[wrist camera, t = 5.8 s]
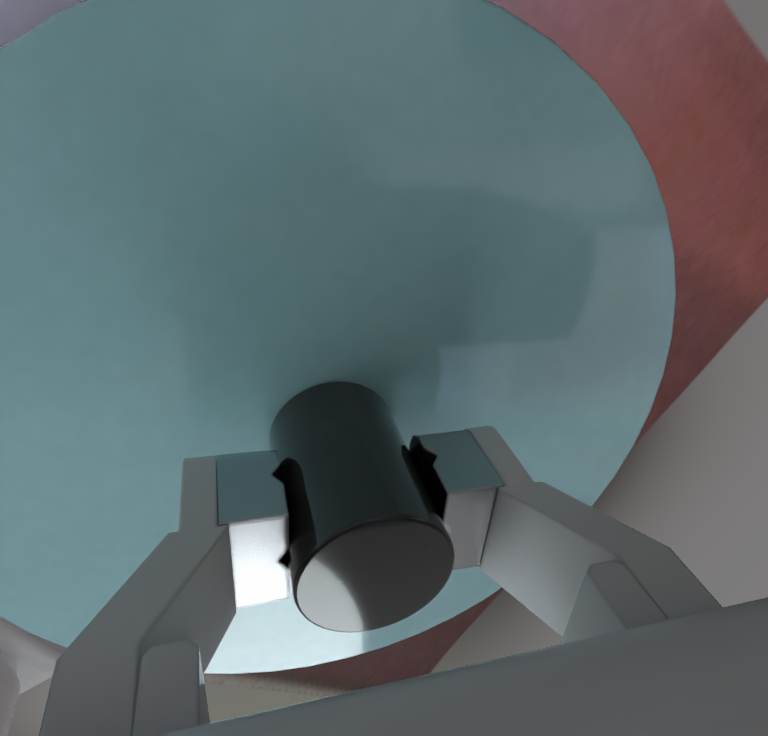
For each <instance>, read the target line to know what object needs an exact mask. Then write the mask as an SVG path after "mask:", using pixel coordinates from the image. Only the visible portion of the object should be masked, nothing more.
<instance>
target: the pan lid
mask: <svg viewBox="0 0 768 736" xmlns="http://www.w3.org/2000/svg"><path fill="white" fill-rule="evenodd" d="M675 300H676V287H675V257H674V250H673V244H672V238H671V233H670V227H669V222H668V216H667V211H666V208H665V205H664V202H663V199H662V196H661V193H660V190H659V187H658V184H657V182H656V179H655V176H654V173H653V170H652V167H651V165H650V163H649V162H648V160H647V158H646V156H645V154H644V152H643V150H642V148H641V146H640V145H639V143H638V141H637V139H636V137H635V135H634V133H633V131H632V129H631V128H630V126H629V124H628V122H627V121H626V120H625V118H624V117H623V116H622V114H621V113H620V112H619V111H618V109H617V108H616V107H615V105H614V104H613V103H612V101H611V100H610V99H609V97H608V96H607V95H606V93H605V92H604V91H603V90H602V88H601V87H600V86H599V84H598V83H597V82H596V80H594V79H593V78H592V77H591V76H590V75H589V74H588V73H587V72H586V71H585V70H584V69H583V68H582V67H581V66H580V65H578V64H577V63H576V62H575V61H574V60H573V59H572V58H571V57H570V56H569V55H568V54H567V53H566V52H565V51H564V50H562V49H561V48H560V47H559V46H558V45H557V44H556V43H555V42H554V41H552V40H551V39H549V38H548V37H546V36H545V35H543V34H542V33H540V32H539V31H537V30H536V29H534V28H533V27H531V26H530V25H528V24H527V23H525V22H524V21H522V20H521V19H519V18H518V17H516V16H515V15H513V14H512V13H510V12H509V11H507V10H506V9H504V8H503V7H500V6H498V5H496V4H494V3H491V2H489V1H487V0H85V1H82V2H80V3H77V4H75V5H73V6H70V7H68V8H65V9H63V10H60V11H59V12H57V13H56V14H54V15H52V16H51V17H49V18H48V19H46V20H45V21H43V22H41V23H40V24H38V25H37V26H35V27H33V28H32V29H30V30H29V31H27V32H25V33H24V34H22V35H21V36H19V37H18V38H16V39H14V40H13V41H11V42H10V43H8V44H6V45H5V46H3V47H2V48H0V617H2V618H4V619H6V620H7V621H9V622H11V623H13V624H15V625H16V626H18V627H20V628H22V629H24V630H25V631H27V632H29V633H32V634H34V635H37V636H39V637H41V638H44V639H46V640H49V641H51V642H54V643H56V644H58V645H61V646H63V647H66V648H68V647H69V646H70V644H71V643H72V642H73V641H74V640H75V639H76V638H77V636H78V635H79V634H80V633H81V632H82V631H83V630H84V628H85V627H86V626H87V625H88V624H89V623H90V622H91V621H92V619H93V618H94V617H95V616H96V615H97V614H98V613H99V611H100V610H101V609H102V608H103V607H104V606H105V605H106V603H107V602H108V601H109V600H110V599H111V598H112V597H113V596H114V594H115V593H116V592H117V591H118V590H119V589H120V588H121V586H122V585H123V584H124V583H125V582H126V581H127V580H128V578H129V577H130V576H131V575H132V574H133V573H134V572H135V571H136V569H137V568H138V567H139V566H140V565H141V564H142V563H143V561H144V560H145V559H146V558H147V557H148V556H149V555H150V553H151V552H152V551H153V550H154V549H155V548H156V547H157V546H158V544H159V543H160V542H161V541H162V540H163V539H164V538H165V536H166V535H167V534H168V533H172V532H178V530H179V510H180V490H181V471H182V462H183V460H184V458H192V457H202V456H213V455H214V456H216V459H217V455H221V454H233V453H245V452H256V451H268V450H277V451H278V455H279V460H280V473H281V482H282V483H284V489H285V495H286V502H287V508H288V514H289V546H290V547H289V549H288V550H287V552H286V555H287V562H288V568H289V575H290V598H289V599H284V600H279V601H274V602H269V603H264V604H259V605H254V606H249V607H244V608H240V609H236V614H235V616H234V618H233V620H232V622H231V624H230V626H229V627H228V629H227V631H226V633H225V635H224V637H223V639H222V641H221V642H220V644H219V646H218V648H217V650H216V652H215V654H214V656H213V657H212V659H211V661H210V663H209V665H208V667H207V669H206V671H205V672H204V674H242V673H257V672H273V671H280V670H287V669H294V668H301V667H308V666H313V665H318V664H322V663H327V662H331V661H336V660H340V659H345V658H349V657H352V656H356V655H359V654H362V653H365V652H369V651H372V650H375V649H379V648H382V647H385V646H388V645H390V644H393V643H395V642H398V641H401V640H403V639H406V638H408V637H411V636H414V635H416V634H419V633H421V632H423V631H425V630H427V629H429V628H431V627H434V626H436V625H438V624H440V623H442V622H444V621H446V620H448V619H451V618H452V617H454V616H456V615H458V614H460V613H461V612H463V611H465V610H467V609H468V608H470V607H472V606H474V605H475V604H477V603H479V602H481V601H482V600H484V599H486V598H487V597H489V596H490V595H492V594H493V593H494V592H496V591H497V590H499V589H500V588H502V587H501V586H500V585H499V584H498V583H496V582H495V581H494V580H493V579H492V578H490V577H489V576H488V575H487V574H486V573H484V572H483V571H482V570H481V569H480V566H478V567H471V568H464V569H457V570H453V567H454V561H455V550H454V545H453V542H452V540H451V537H450V535H449V533H448V531H447V529H446V527H445V525H444V523H443V521H442V519H441V516H440V514H439V512H438V510H437V508H436V506H435V504H434V502H433V500H432V498H431V496H430V493H429V491H428V489H427V487H426V485H425V483H424V481H423V479H422V477H421V475H420V473H419V470H418V468H417V466H416V464H415V462H414V460H413V458H412V456H411V454H410V452H409V445H410V441H411V439H412V436H413V435H422V434H430V433H439V432H448V431H457V430H464V429H468V428H475V427H483V426H492V427H494V428H495V429H496V430H497V431H498V433H499V434H500V435H501V437H502V438H503V440H504V441H505V442H506V444H507V445H508V446H509V448H510V449H511V451H512V452H513V453H514V455H515V456H516V457H517V459H518V460H519V461H520V463H521V464H522V466H523V467H524V468H525V470H526V471H527V472H528V474H529V475H530V477H531V478H532V479H533V481H534V482H541V481H542V482H544V483H546V484H548V485H550V486H552V487H554V488H556V489H558V490H560V491H562V492H564V493H565V494H567V495H569V496H571V497H573V498H575V499H577V500H579V501H581V502H583V503H585V504H587V505H589V506H590V507H592V506H593V504H594V503H595V502H596V500H597V499H598V498H599V496H600V495H601V493H602V492H603V491H604V490H605V488H606V487H607V486H608V484H609V483H610V482H611V480H612V479H613V478H614V476H615V475H616V473H617V471H618V470H619V468H620V467H621V465H622V463H623V462H624V460H625V458H626V457H627V455H628V454H629V452H630V450H631V449H632V447H633V445H634V443H635V441H636V439H637V437H638V435H639V433H640V431H641V429H642V427H643V425H644V423H645V421H646V419H647V417H648V415H649V412H650V410H651V407H652V404H653V402H654V399H655V396H656V393H657V390H658V388H659V385H660V382H661V379H662V376H663V373H664V368H665V364H666V360H667V355H668V351H669V347H670V342H671V338H672V329H673V320H674V310H675Z"/></svg>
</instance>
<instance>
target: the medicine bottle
mask: <svg viewBox="0 0 768 736" xmlns="http://www.w3.org/2000/svg"><path fill="white" fill-rule="evenodd" d="M66 649H67V648H66V647H63V646H61V645H58V644H56V643H54V642H51V641H49V640H46V639H44V638H41V637H39V636H37V635H34V634H32V633H29V632H27V631H25V630H24V629H22V628H20V627H18V626H16V625H15V624H13V623H11V622H9V621H7V620H6V619H4V618H2V617H0V736H7V734H8V730H9V727H10V723H11V720H12V716H13V713H14V709H15V706H16V702H17V699H18V695H19V694H21V693H23V692H24V691H26V690H28V689H30V688H32V687H33V686H35V685H37V684H39V683H41V682H42V681H44V680H46V679H48V678H50V677H51V676H53V673H54V669H55V664H56V660H57V659H58V658H59V657H60V656H61V655H62V653H63V652H64V651H65V650H66Z"/></svg>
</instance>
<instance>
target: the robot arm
mask: <svg viewBox="0 0 768 736" xmlns="http://www.w3.org/2000/svg"><path fill="white" fill-rule="evenodd" d="M409 452H410V454H411V456H412V458H413V460H414V462H415V464H416V466H417V468H418V470H419V473H420V475H421V477H422V479H423V481H424V483H425V485H426V487H427V489H428V491H429V493H430V496H431V498H432V500H433V502H434V504H435V506H436V508H437V510H438V512H439V514H440V516H441V519H442V521H443V523H444V525H445V527H446V529H447V531H448V533H449V535H450V537H451V540H452V542H453V545H454V550H455V561H454V567H453V570H457V569H464V568H471V567H478V566H480V569H481V570H482V571H483V572H484V573H486V574H487V575H488V576H489V577H490V578H492V579H493V580H494V581H495V582H496V583H498V584H499V585H500V586H501V587H503V588H504V589H505V590H506V591H507V592H509V593H510V594H511V595H512V596H513V597H515V598H516V599H517V600H518V601H519V602H521V603H522V604H523V605H524V606H526V607H527V608H528V609H529V610H530V611H532V612H533V613H534V614H535V615H536V616H538V617H539V618H540V619H541V620H542V621H544V622H545V623H546V624H547V625H549V626H550V627H551V628H552V629H553V630H555V631H556V632H557V633H558V634H560V635H561V636H562V640H561V642H560V645H555V646H551V647H546V648H542V649H538V650H534V651H529V652H525V653H520V654H516V655H511V656H507V657H502V658H498V659H493V660H489V661H484V662H480V663H476V664H471V665H466V666H462V667H457V668H453V669H449V670H444V671H440V672H435V673H431V674H426V675H422V676H417V677H413V678H408V679H404V680H399V681H395V682H391V683H386V684H382V685H377V686H373V687H368V688H364V689H359V690H355V691H350V692H346V693H342V694H337V695H333V696H328V697H324V698H319V699H315V700H310V701H306V702H302V703H297V704H293V705H288V706H284V707H280V708H275V709H271V710H266V711H261V712H258V713H253V714H248V715H244V716H239V717H235V718H230V719H226V720H221V721H217V722H213V723H210V720H209V713H208V706H207V698H206V692H205V685H204V677H203V674H204V672H205V671H206V669H207V667H208V665H209V663H210V661H211V659H212V657H213V656H214V654H215V652H216V650H217V648H218V646H219V644H220V642H221V641H222V639H223V637H224V635H225V633H226V631H227V629H228V627H229V626H230V624H231V622H232V620H233V618H234V616H235V614H236V609H240V608H244V607H249V606H254V605H259V604H264V603H269V602H274V601H279V600H284V599H289V598H290V575H289V568H288V562H287V555H286V552H287V550H288V549H289V547H290V546H289V514H288V508H287V502H286V495H285V489H284V483H282V482H281V473H280V460H279V455H278V451H277V450H268V451H256V452H245V453H233V454H221V455H217V459H216V456H214V455H213V456H202V457H192V458H184V460H183V462H182V471H181V490H180V510H179V530H178V532H172V533H168V534H167V535H166V536H165V538H164V539H163V540H162V541H161V542H160V543H159V544H158V546H157V547H156V548H155V549H154V550H153V551H152V552H151V553H150V555H149V556H148V557H147V558H146V559H145V560H144V561H143V563H142V564H141V565H140V566H139V567H138V568H137V569H136V571H135V572H134V573H133V574H132V575H131V576H130V577H129V578H128V580H127V581H126V582H125V583H124V584H123V585H122V586H121V588H120V589H119V590H118V591H117V592H116V593H115V594H114V596H113V597H112V598H111V599H110V600H109V601H108V602H107V603H106V605H105V606H104V607H103V608H102V609H101V610H100V611H99V613H98V614H97V615H96V616H95V617H94V618H93V619H92V621H91V622H90V623H89V624H88V625H87V626H86V627H85V628H84V630H83V631H82V632H81V633H80V634H79V635H78V636H77V638H76V639H75V640H74V641H73V642H72V643H71V644H70V646H69V647H68V648H67V649H66V650H65V651H64V652H63V653H62V655H61V656H60V657H59V658H58V659H57V660H56V664H55V669H54V673H53V678H52V682H51V686H50V690H49V695H48V698H47V703H46V707H45V711H44V716H43V719H42V724H41V728H40V732H39V736H768V598H763V599H759V600H754V601H750V602H745V603H741V604H737V605H733V606H728V607H724V608H723V607H722V606H721V605H720V604H719V603H718V602H717V600H716V599H715V598H714V597H713V596H712V595H711V594H710V593H709V591H708V590H707V589H706V588H705V587H704V586H703V585H702V583H701V582H700V581H699V580H698V579H697V578H696V577H695V576H694V574H693V573H692V572H691V571H690V570H689V569H688V568H687V566H686V565H685V564H684V563H683V562H682V561H681V560H680V559H679V557H678V556H677V555H676V554H675V553H674V552H673V551H672V550H671V548H669V547H667V546H666V545H664V544H662V543H660V542H658V541H656V540H654V539H652V538H650V537H648V536H646V535H644V534H642V533H640V532H639V531H637V530H635V529H633V528H631V527H629V526H627V525H625V524H623V523H621V522H619V521H617V520H615V519H613V518H612V517H610V516H608V515H606V514H604V513H602V512H600V511H598V510H596V509H594V508H592V507H590V506H589V505H587V504H585V503H583V502H581V501H579V500H577V499H575V498H573V497H571V496H569V495H567V494H565V493H564V492H562V491H560V490H558V489H556V488H554V487H552V486H550V485H548V484H546V483H544V482H542V481H541V482H534V481H533V479H532V478H531V477H530V475H529V474H528V472H527V471H526V470H525V468H524V467H523V466H522V464H521V463H520V461H519V460H518V459H517V457H516V456H515V455H514V453H513V452H512V451H511V449H510V448H509V446H508V445H507V444H506V442H505V441H504V440H503V438H502V437H501V435H500V434H499V433H498V431H497V430H496V429H495V428H494V427H492V426H483V427H475V428H468V429H464V430H457V431H448V432H439V433H430V434H422V435H413V436H412V439H411V441H410V445H409Z"/></svg>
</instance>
